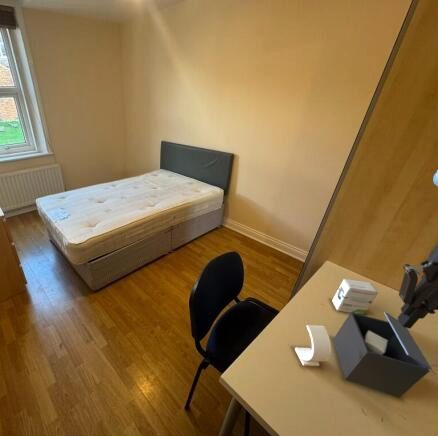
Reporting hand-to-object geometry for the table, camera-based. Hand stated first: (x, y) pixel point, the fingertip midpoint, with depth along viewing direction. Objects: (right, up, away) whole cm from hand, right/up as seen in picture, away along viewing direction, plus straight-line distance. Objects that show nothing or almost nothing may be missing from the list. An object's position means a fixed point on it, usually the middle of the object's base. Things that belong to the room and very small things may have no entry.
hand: (403, 323), depth 58 cm
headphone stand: (-16, -17, +12) cm, 26 cm away
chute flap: (+2, -5, +2) cm, 6 cm away
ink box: (+10, -7, +28) cm, 31 cm away
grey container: (0, -17, +11) cm, 20 cm away
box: (-1, -17, +11) cm, 20 cm away
